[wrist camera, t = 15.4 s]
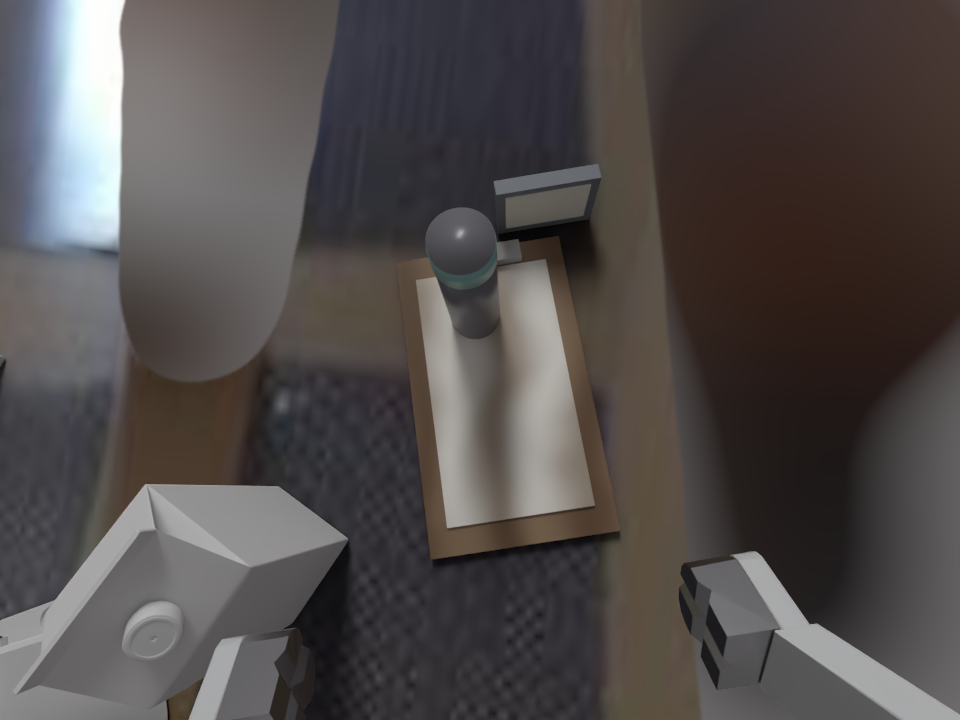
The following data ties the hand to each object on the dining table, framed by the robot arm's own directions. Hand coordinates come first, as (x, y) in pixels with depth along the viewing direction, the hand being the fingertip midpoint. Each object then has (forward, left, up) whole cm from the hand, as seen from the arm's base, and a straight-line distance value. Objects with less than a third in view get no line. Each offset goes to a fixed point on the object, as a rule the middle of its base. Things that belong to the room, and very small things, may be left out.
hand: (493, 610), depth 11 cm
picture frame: (+7, +24, -28) cm, 38 cm away
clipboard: (+1, +10, -28) cm, 30 cm away
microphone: (0, +16, -27) cm, 32 cm away
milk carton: (-17, 0, -28) cm, 33 cm away
